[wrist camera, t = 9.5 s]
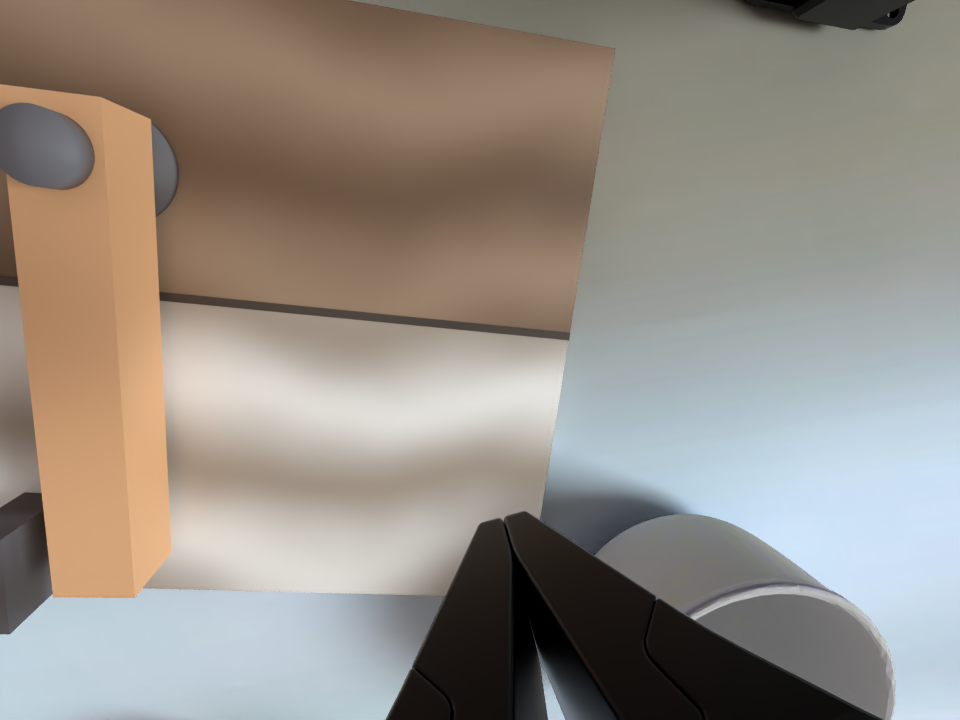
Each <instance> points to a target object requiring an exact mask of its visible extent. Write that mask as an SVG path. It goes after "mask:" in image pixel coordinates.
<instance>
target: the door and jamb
mask: <svg viewBox="0 0 960 720" xmlns="http://www.w3.org/2000/svg"><path fill="white" fill-rule="evenodd" d="M614 53H615V48H610V47H604V46H598V45H593V44H587V43H582V42H576V41H571V40H565V39H560V38H554V37H549V36H543V35H537V34H532V33H526V32H521V31H515V30H510V29H504V28H499V27H493V26H488V25H482V24H476V23H471V22H465V21H460V20H454V19H449V18H443V17H438V16H432V15H427V14H421V13H415V12H410V11H404V10H399V9H393V8H388V7H382V6H377V5H371V4H366V3H360V2H354V1H349V0H0V84H2V85H10V86H18V87H26V88H34V89H42V90H50V91H58V92H66V93H73V94H81V95H89V96H97V97H102V98H104V99H106V100H109V101H111V102H113V103H115V104H118V105H120V106H122V107H124V108H127V109H129V110H131V111H133V112H136V113H138V114H140V115H142V116H145V117H147V118H149V119H151V132H152V153H153V174H154V195H155V216H156V237H157V258H158V279H159V300H160V321H161V342H162V363H163V384H164V405H165V426H166V447H167V468H168V489H169V510H170V531H171V552H172V553H171V554H170V555H169V556H168V557H167V559H166V560H165V561H164V562H163V564H162V565H161V566H160V567H159V568H158V570H157V571H156V572H155V573H154V575H153V576H152V577H151V578H150V580H149V581H148V582H147V583H146V584H145V586H144V587H143V588H155V589H194V590H233V591H271V592H310V593H349V594H388V595H426V596H445V595H446V593H447V591H448V589H449V587H450V584H451V582H452V580H453V578H454V576H455V574H456V572H457V570H458V567H459V565H460V563H461V561H462V559H463V557H464V555H465V553H466V550H467V548H468V546H469V544H470V542H471V540H472V538H473V536H474V533H475V531H476V529H477V527H478V525H479V524H480V523H481V522H485V521H488V520H492V519H496V518H501V519H502V520H503V521H504V517H505V516H507V515H510V514H514V513H518V512H521V511H527V512H529V513H530V514H532V515H533V516H535V517H536V518H538V519H539V520H540V516H541V510H542V504H543V498H544V491H545V485H546V479H547V473H548V466H549V460H550V454H551V448H552V441H553V435H554V429H555V422H556V416H557V410H558V404H559V397H560V391H561V385H562V379H563V372H564V366H565V360H566V354H567V347H568V341H569V337H570V328H571V322H572V316H573V310H574V303H575V297H576V291H577V285H578V278H579V272H580V266H581V260H582V253H583V247H584V241H585V234H586V228H587V222H588V216H589V209H590V203H591V197H592V191H593V184H594V178H595V172H596V166H597V159H598V153H599V147H600V140H601V134H602V128H603V122H604V115H605V109H606V103H607V97H608V90H609V84H610V78H611V72H612V65H613V59H614ZM504 525H505V524H504ZM52 594H53V591H52V582H51V573H50V564H49V555H48V546H47V537H46V528H45V519H44V510H43V501H42V492H41V483H40V474H39V465H38V456H37V447H36V438H35V429H34V420H33V411H32V402H31V393H30V384H29V375H28V366H27V357H26V348H25V339H24V330H23V321H22V312H21V303H20V294H19V285H18V276H17V267H16V258H15V249H14V239H13V230H12V221H11V212H10V203H9V194H8V185H7V176H6V173H5V172H4V171H3V170H2V169H1V168H0V634H10V633H12V632H13V631H14V630H15V629H16V628H17V627H18V626H19V625H20V624H21V623H22V622H23V621H24V620H25V619H26V618H27V617H28V616H29V615H31V614H32V613H33V612H34V611H35V610H36V609H37V608H38V607H39V606H40V605H41V604H42V603H43V602H44V601H45V600H46V599H47V598H48V597H50V596H51V595H52Z"/></svg>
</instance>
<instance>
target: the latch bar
mask: <svg viewBox="0 0 960 720" xmlns="http://www.w3.org/2000/svg"><path fill="white" fill-rule="evenodd" d="M0 168H1V169H2V170H3V171H4V172H5V173H6V176H7V185H8V194H9V203H10V212H11V221H12V230H13V239H14V249H15V258H16V267H17V276H18V285H19V294H20V303H21V312H22V321H23V330H24V339H25V348H26V357H27V366H28V375H29V384H30V393H31V402H32V411H33V420H34V429H35V438H36V447H37V456H38V465H39V474H40V483H41V492H42V501H43V510H44V519H45V528H46V537H47V546H48V555H49V564H50V573H51V582H52V591H53V597H103V598H135V597H136V596H137V594H138V593H139V592H140V591H141V589H142V588H143V587H144V586H145V584H146V583H147V582H148V581H149V580H150V578H151V577H152V576H153V575H154V573H155V572H156V571H157V570H158V568H159V567H160V566H161V565H162V564H163V562H164V561H165V560H166V559H167V557H168V556H169V555H170V554H171V553H172V552H171V531H170V510H169V489H168V468H167V447H166V426H165V405H164V384H163V363H162V342H161V321H160V300H159V279H158V258H157V237H156V216H155V195H154V174H153V153H152V132H151V119H149V118H147V117H145V116H142V115H140V114H138V113H136V112H133V111H131V110H129V109H127V108H124V107H122V106H120V105H118V104H115V103H113V102H111V101H109V100H106V99H104V98H102V97H97V96H89V95H81V94H73V93H66V92H58V91H50V90H42V89H34V88H26V87H18V86H10V85H2V84H0Z"/></svg>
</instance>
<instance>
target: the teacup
mask: <svg viewBox="0 0 960 720" xmlns="http://www.w3.org/2000/svg"><path fill="white" fill-rule="evenodd" d="M595 556H596V557H598V558H599V559H601V560H602V561H604V562H605V563H607V564H608V565H610V566H611V567H613V568H615V569H616V570H618V571H619V572H621V573H622V574H624V575H625V576H627V577H628V578H630V579H631V580H633V581H634V582H636V583H638V584H639V585H641V586H642V587H644V588H645V589H647V590H648V591H650V592H651V593H653V594H654V595H656V596H657V598H661V599H662V600H664V601H666V602H667V603H669V604H670V605H672V606H673V607H675V608H676V609H678V610H679V611H681V612H683V613H684V614H686V615H688V616H689V617H691V618H692V619H694V620H696V621H697V622H699V623H701V624H702V625H704V626H706V627H707V628H709V629H710V630H712V631H714V632H716V633H718V634H719V635H721V636H723V637H725V638H727V639H729V640H731V641H732V642H734V643H736V644H738V645H740V646H742V647H743V648H745V649H747V650H749V651H751V652H753V653H755V654H757V655H758V656H760V657H762V658H764V659H766V660H768V661H770V662H772V663H774V664H776V665H778V666H780V667H782V668H784V669H786V670H788V671H790V672H792V673H794V674H796V675H797V676H799V677H801V678H803V679H805V680H807V681H809V682H811V683H813V684H815V685H817V686H819V687H821V688H823V689H825V690H827V691H829V692H831V693H833V694H835V695H836V696H838V697H840V698H842V699H844V700H846V701H848V702H850V703H852V704H854V705H856V706H858V707H860V708H862V709H864V710H866V711H868V712H870V713H872V714H874V715H877V716H879V717H881V718H883V719H885V720H892V716H893V713H894V708H895V696H896V680H895V672H894V667H893V662H892V658H891V654H890V651H889V649H888V646H887V644H886V642H885V640H884V638H883V637H882V635H881V634H880V632H879V631H878V629H877V628H876V626H875V625H874V623H873V622H872V621H871V619H870V618H869V617H868V616H867V615H866V614H865V613H863V612H862V611H861V610H860V609H859V608H858V607H856V606H855V605H854V604H852V603H851V602H850V601H848V600H847V599H845V598H844V597H843V596H841V595H839V594H837V593H835V592H834V591H831V590H829V589H827V588H826V587H825V586H823V585H822V584H821V583H820V582H818V581H817V580H816V579H814V578H813V577H812V576H810V575H809V574H808V573H807V572H805V571H804V570H803V569H801V568H800V567H799V566H797V565H796V564H795V563H793V562H792V561H790V560H789V559H788V558H786V557H785V556H784V555H782V554H781V553H779V552H778V551H777V550H775V549H774V548H772V547H771V546H769V545H768V544H766V543H765V542H763V541H762V540H760V539H759V538H757V537H756V536H754V535H752V534H750V533H749V532H747V531H745V530H743V529H742V528H740V527H737V526H735V525H733V524H730V523H728V522H725V521H722V520H719V519H716V518H712V517H707V516H701V515H690V514H676V515H669V516H661V517H658V518H654V519H651V520H647V521H644V522H642V523H639V524H637V525H634V526H632V527H630V528H629V529H627V530H625V531H623V532H622V533H620V534H619V535H617V536H616V537H614V538H613V539H611V540H610V541H609V542H608V543H607V544H606V545H605V546H603V547H602V548H601V549H600V550H599V551H598V552H597V553H596V554H595Z"/></svg>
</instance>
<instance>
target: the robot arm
mask: <svg viewBox="0 0 960 720" xmlns="http://www.w3.org/2000/svg"><path fill="white" fill-rule="evenodd" d="M744 1H745V2H746V3H748V4H752V5H757V6H762V7H767V8H772V9H777V10H782V11H787V12H792V14H793V15H794V16H795V17H796V18H797V19H800V20H805V21H810V22H815V23H820V24H825V25H830V26H835V27H840V28H845V29H850V30H855V29H857V28H859V27H861V26H862V27H867V28H872V29H877V30H885V29H887V28H889V27H892V26H894V25H896V24H898V23H899V22H900V21H901V20H902V18H903V16H904V14H905V10H906V6H907V4H908V3H910V2H912V1H914V0H744ZM888 13H890V15H889V17H888V16H887V14H888ZM504 524H505V525H504ZM530 623H531V624H530ZM533 634H534V635H533ZM534 638H535V639H534ZM535 641H536V644H535ZM536 645H537V648H538V651H539V654H540V657H541V660H542V663H543V665H544V668H545V670H546V673H547V675H548V678H549V680H550V683H551V685H552V688H553V690H554V693H555V695H556V698H557V700H558V703H559V705H560V708H561V710H562V712H563V715H564V717H565V720H885V719H883V718H881V717H879V716H877V715H874V714H872V713H870V712H868V711H866V710H864V709H862V708H860V707H858V706H856V705H854V704H852V703H850V702H848V701H846V700H844V699H842V698H840V697H838V696H836V695H835V694H833V693H831V692H829V691H827V690H825V689H823V688H821V687H819V686H817V685H815V684H813V683H811V682H809V681H807V680H805V679H803V678H801V677H799V676H797V675H796V674H794V673H792V672H790V671H788V670H786V669H784V668H782V667H780V666H778V665H776V664H774V663H772V662H770V661H768V660H766V659H764V658H762V657H760V656H758V655H757V654H755V653H753V652H751V651H749V650H747V649H745V648H743V647H742V646H740V645H738V644H736V643H734V642H732V641H731V640H729V639H727V638H725V637H723V636H721V635H719V634H718V633H716V632H714V631H712V630H710V629H709V628H707V627H706V626H704V625H702V624H701V623H699V622H697V621H696V620H694V619H692V618H691V617H689V616H688V615H686V614H684V613H683V612H681V611H679V610H678V609H676V608H675V607H673V606H672V605H670V604H669V603H667V602H666V601H664V600H662V599H661V598H657V596H656V595H654V594H653V593H651V592H650V591H648V590H647V589H645V588H644V587H642V586H641V585H639V584H638V583H636V582H634V581H633V580H631V579H630V578H628V577H627V576H625V575H624V574H622V573H621V572H619V571H618V570H616V569H615V568H613V567H611V566H610V565H608V564H607V563H605V562H604V561H602V560H601V559H599V558H598V557H596V556H595V555H593V554H592V553H590V552H588V551H587V550H585V549H584V548H582V547H581V546H579V545H578V544H576V543H575V542H573V541H572V540H570V539H568V538H567V537H565V536H564V535H562V534H561V533H559V532H558V531H556V530H555V529H553V528H552V527H550V526H549V525H547V524H545V523H544V522H542V521H541V520H539V519H538V518H536V517H535V516H533V515H532V514H530V513H529V512H527V511H521V512H518V513H514V514H510V515H507V516H505V517H504V521H503V520H502V519H501V518H496V519H492V520H488V521H485V522H481V523H480V524H479V525H478V527H477V529H476V531H475V533H474V536H473V538H472V540H471V542H470V544H469V546H468V548H467V550H466V553H465V555H464V557H463V559H462V561H461V563H460V565H459V567H458V570H457V572H456V574H455V576H454V578H453V580H452V582H451V584H450V587H449V589H448V591H447V593H446V595H445V597H444V599H443V601H442V604H441V606H440V608H439V610H438V612H437V614H436V616H435V618H434V621H433V623H432V625H431V627H430V629H429V631H428V633H427V635H426V637H425V640H424V642H423V644H422V646H421V648H420V650H419V652H418V654H417V657H416V659H415V661H414V663H413V665H412V669H411V670H410V671H409V673H408V675H407V677H406V679H405V682H404V684H403V686H402V688H401V690H400V692H399V694H398V696H397V698H396V700H395V702H394V704H393V706H392V708H391V710H390V712H389V714H388V716H387V718H386V720H548V717H547V710H546V703H545V696H544V689H543V682H542V675H541V669H540V663H539V657H538V652H537V648H536Z"/></svg>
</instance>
